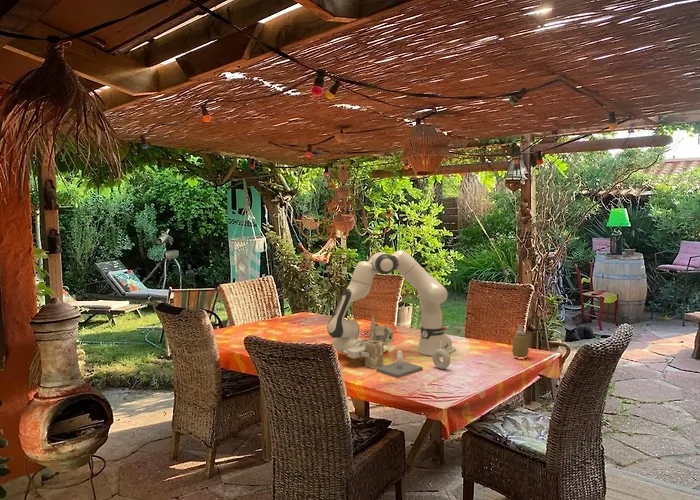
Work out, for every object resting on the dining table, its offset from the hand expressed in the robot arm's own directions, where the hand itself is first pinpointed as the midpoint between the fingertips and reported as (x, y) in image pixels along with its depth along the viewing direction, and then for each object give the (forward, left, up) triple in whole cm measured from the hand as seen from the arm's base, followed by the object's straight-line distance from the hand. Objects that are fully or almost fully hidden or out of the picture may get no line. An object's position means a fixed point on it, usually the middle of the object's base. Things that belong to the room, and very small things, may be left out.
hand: (375, 353), depth 256 cm
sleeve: (0, -1, -7) cm, 7 cm away
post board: (-4, +13, -7) cm, 15 cm away
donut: (-21, +25, -7) cm, 33 cm away
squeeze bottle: (-66, +42, -7) cm, 78 cm away
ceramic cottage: (-38, -33, -7) cm, 51 cm away
